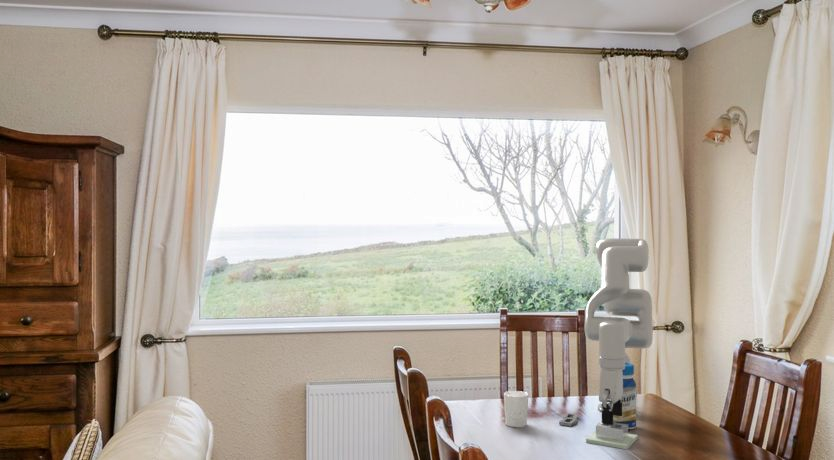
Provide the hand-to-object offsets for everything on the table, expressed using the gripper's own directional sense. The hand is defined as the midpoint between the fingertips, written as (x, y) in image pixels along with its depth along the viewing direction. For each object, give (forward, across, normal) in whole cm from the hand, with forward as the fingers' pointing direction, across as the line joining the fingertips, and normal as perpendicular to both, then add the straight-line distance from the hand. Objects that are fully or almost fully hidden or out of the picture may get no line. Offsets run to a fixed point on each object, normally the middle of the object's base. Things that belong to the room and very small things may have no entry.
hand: (612, 419), depth 199 cm
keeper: (+6, +1, 0) cm, 6 cm away
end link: (+5, +1, 0) cm, 5 cm away
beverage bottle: (+7, -15, -1) cm, 16 cm away
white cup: (+6, +1, -31) cm, 31 cm away
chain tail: (+6, -12, -18) cm, 22 cm away
